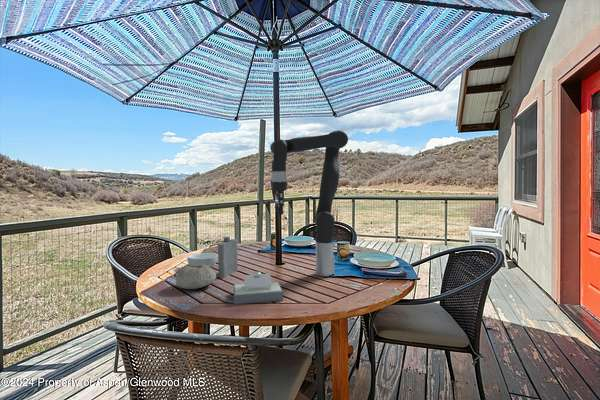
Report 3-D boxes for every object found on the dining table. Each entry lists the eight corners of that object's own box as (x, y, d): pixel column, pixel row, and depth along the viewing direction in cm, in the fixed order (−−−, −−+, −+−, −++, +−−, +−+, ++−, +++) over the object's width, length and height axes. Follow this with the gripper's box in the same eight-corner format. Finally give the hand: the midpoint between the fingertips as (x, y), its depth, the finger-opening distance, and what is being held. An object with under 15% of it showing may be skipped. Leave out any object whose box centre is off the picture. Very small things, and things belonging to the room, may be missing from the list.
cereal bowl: (224, 266, 193) (224, 254, 192) (201, 273, 179) (201, 260, 178) (204, 262, 202) (203, 251, 201) (181, 268, 188) (181, 256, 187)
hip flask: (222, 278, 168) (222, 239, 167) (216, 278, 170) (215, 239, 168) (238, 270, 183) (237, 234, 182) (232, 269, 185) (231, 234, 183)
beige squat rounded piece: (194, 279, 168) (193, 259, 167) (223, 283, 161) (223, 263, 160) (168, 290, 151) (167, 268, 151) (199, 295, 144) (198, 272, 144)
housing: (244, 285, 144) (244, 271, 144) (269, 284, 146) (269, 269, 146) (244, 291, 137) (244, 275, 137) (271, 289, 139) (271, 274, 139)
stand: (278, 290, 150) (278, 281, 150) (283, 300, 138) (282, 290, 137) (233, 293, 146) (233, 284, 146) (233, 304, 134) (233, 294, 133)
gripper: (269, 180, 169) (270, 212, 170) (273, 181, 155) (273, 215, 156) (284, 180, 171) (284, 212, 172) (289, 180, 157) (289, 215, 158)
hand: (279, 213), depth 164 cm, fingers open, 8 cm apart
